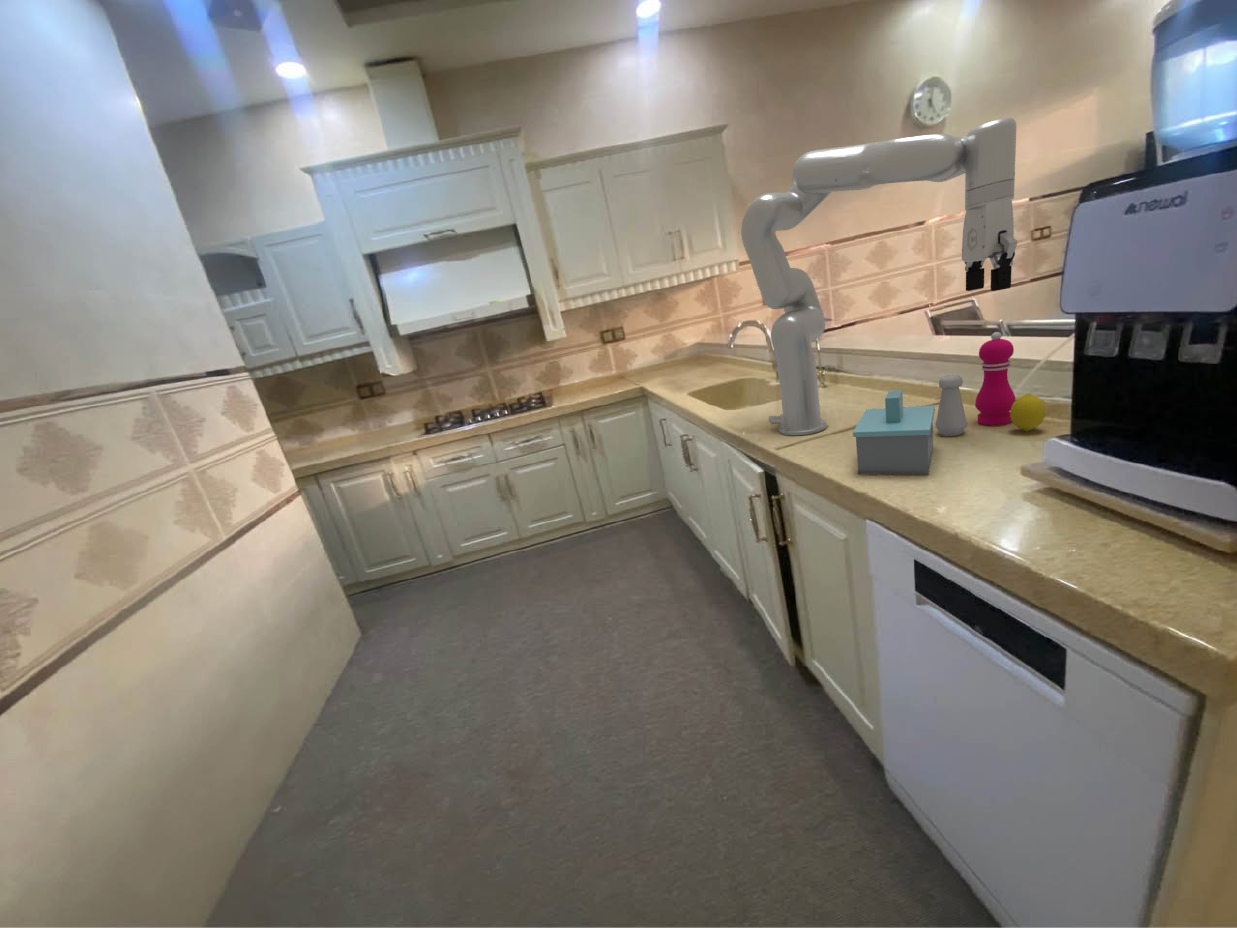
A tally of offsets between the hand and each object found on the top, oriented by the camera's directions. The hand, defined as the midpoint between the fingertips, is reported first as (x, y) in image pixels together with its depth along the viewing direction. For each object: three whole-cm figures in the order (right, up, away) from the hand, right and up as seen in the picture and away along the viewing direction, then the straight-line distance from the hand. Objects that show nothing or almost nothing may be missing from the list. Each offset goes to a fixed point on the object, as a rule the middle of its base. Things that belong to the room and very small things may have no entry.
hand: (987, 289), depth 98 cm
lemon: (+11, -29, +3) cm, 31 cm away
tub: (-17, -34, +3) cm, 38 cm away
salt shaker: (0, -29, +11) cm, 30 cm away
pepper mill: (+11, -26, +12) cm, 30 cm away
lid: (-18, -28, +1) cm, 33 cm away
